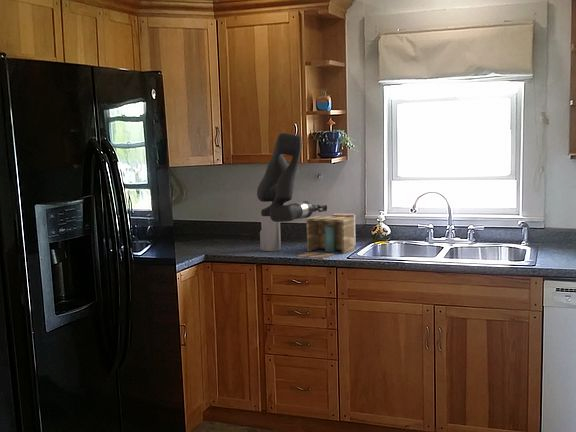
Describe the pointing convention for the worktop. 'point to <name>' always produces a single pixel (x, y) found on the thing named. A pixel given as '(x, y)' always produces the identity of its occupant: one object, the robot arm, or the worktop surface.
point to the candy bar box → (347, 216)
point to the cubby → (342, 232)
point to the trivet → (315, 255)
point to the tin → (329, 238)
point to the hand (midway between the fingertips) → (318, 207)
